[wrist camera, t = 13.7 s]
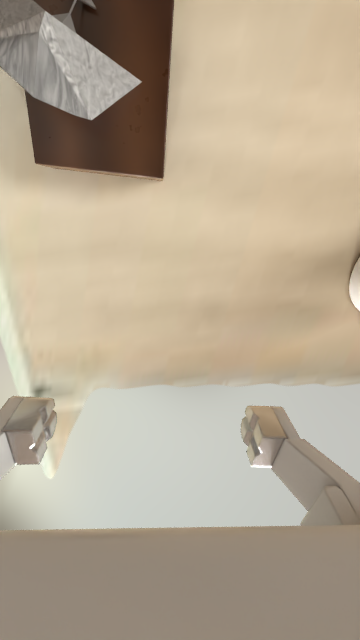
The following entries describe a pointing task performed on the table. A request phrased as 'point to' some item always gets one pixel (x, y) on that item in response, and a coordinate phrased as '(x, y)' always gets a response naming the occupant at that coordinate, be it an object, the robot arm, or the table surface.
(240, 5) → the table surface
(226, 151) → the table surface
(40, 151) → the walnut block
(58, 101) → the paper boat
